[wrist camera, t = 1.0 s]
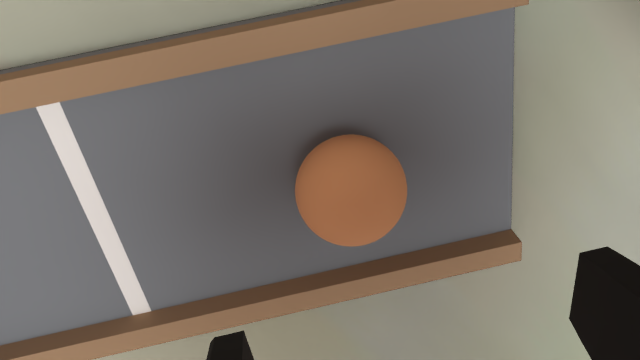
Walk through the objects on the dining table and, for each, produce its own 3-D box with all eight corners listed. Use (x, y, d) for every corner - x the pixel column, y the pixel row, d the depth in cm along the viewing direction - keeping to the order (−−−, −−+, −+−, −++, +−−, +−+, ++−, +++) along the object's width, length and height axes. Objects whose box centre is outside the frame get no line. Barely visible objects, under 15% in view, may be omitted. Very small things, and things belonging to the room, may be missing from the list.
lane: (507, -34, 19) (562, -18, 16) (504, 239, 25) (544, 290, 22) (-315, 135, 17) (-433, 188, 14) (-108, 379, 23) (-161, 455, 20)
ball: (395, 196, 22) (426, 255, 18) (300, 218, 22) (313, 280, 18) (385, 107, 20) (417, 153, 17) (280, 129, 20) (290, 181, 16)
